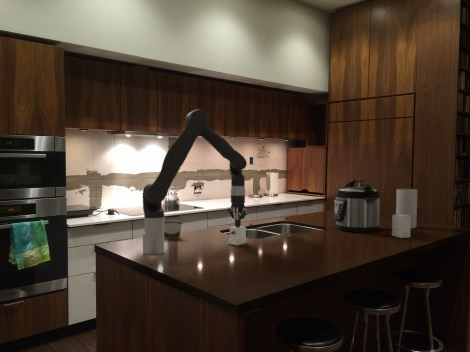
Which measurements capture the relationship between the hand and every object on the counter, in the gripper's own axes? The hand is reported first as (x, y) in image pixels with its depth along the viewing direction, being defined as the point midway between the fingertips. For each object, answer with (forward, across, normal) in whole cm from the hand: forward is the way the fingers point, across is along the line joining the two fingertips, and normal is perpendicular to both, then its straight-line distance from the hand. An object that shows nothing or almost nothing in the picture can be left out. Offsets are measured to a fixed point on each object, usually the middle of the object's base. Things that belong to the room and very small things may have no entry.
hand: (237, 226), depth 206 cm
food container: (+9, -40, -11) cm, 42 cm away
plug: (+9, 0, 0) cm, 9 cm away
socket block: (+9, 0, 0) cm, 9 cm away
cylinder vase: (+9, +50, +114) cm, 125 cm away
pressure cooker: (+9, +30, +83) cm, 89 cm away
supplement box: (+9, +58, +79) cm, 99 cm away
